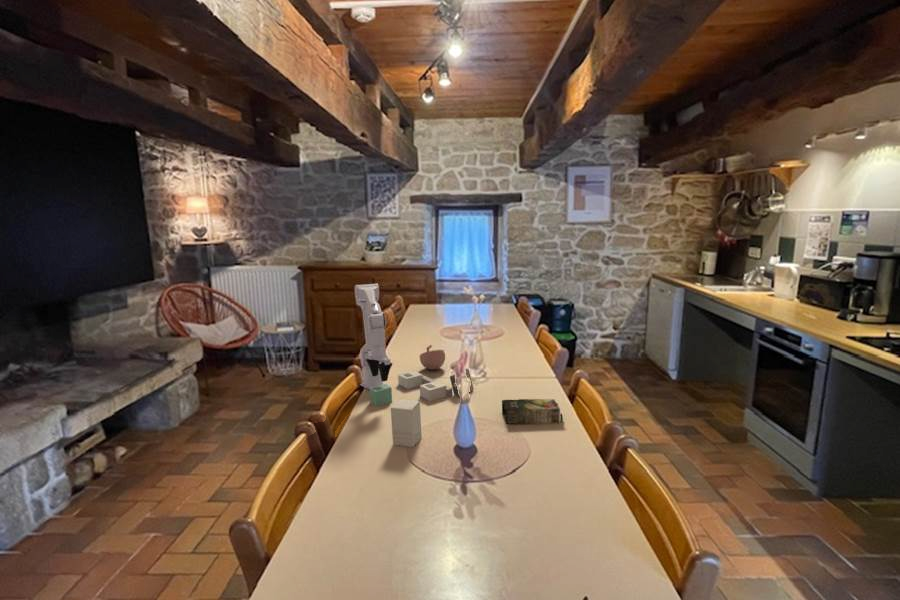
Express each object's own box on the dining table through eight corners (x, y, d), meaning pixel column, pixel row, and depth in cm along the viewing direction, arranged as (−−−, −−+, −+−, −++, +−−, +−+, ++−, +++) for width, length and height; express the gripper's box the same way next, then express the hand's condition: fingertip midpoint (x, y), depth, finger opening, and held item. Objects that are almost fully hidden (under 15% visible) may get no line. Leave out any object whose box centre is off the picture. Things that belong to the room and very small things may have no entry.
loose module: (370, 402, 183) (369, 387, 181) (385, 398, 187) (385, 383, 186) (376, 406, 179) (375, 391, 177) (392, 401, 183) (391, 386, 182)
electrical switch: (460, 397, 185) (458, 375, 184) (450, 396, 188) (448, 373, 187) (474, 390, 192) (472, 368, 191) (464, 389, 195) (462, 367, 194)
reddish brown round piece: (439, 363, 228) (438, 341, 226) (449, 370, 217) (449, 346, 215) (416, 367, 223) (415, 344, 221) (426, 375, 212) (425, 350, 210)
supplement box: (422, 437, 153) (420, 400, 150) (413, 447, 146) (411, 409, 144) (401, 434, 155) (400, 398, 153) (392, 444, 148) (389, 407, 146)
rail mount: (397, 384, 202) (396, 373, 201) (417, 378, 208) (416, 368, 207) (431, 402, 181) (431, 390, 180) (452, 395, 187) (452, 384, 186)
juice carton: (556, 411, 170) (556, 395, 169) (563, 423, 160) (563, 407, 159) (501, 414, 169) (501, 398, 168) (505, 426, 160) (505, 410, 159)
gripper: (359, 342, 182) (362, 375, 184) (377, 350, 170) (379, 385, 173) (376, 339, 186) (377, 371, 188) (394, 346, 174) (396, 381, 177)
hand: (379, 378), depth 181 cm, fingers open, 7 cm apart
